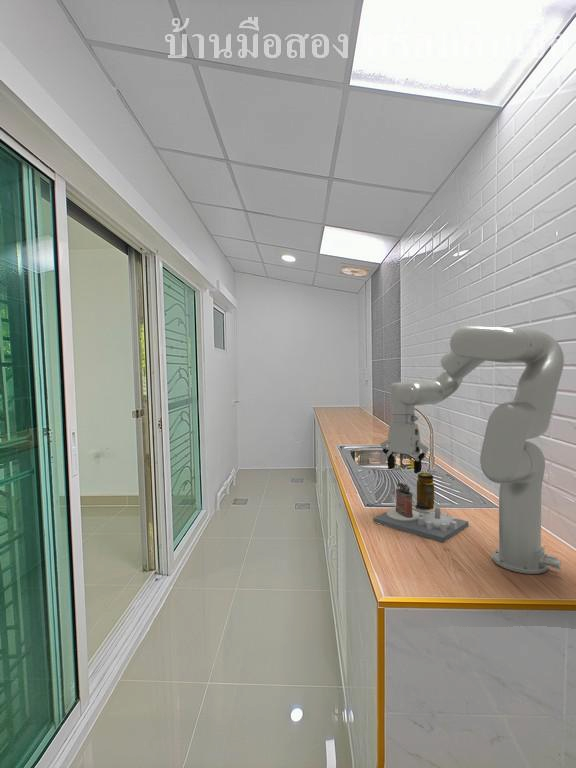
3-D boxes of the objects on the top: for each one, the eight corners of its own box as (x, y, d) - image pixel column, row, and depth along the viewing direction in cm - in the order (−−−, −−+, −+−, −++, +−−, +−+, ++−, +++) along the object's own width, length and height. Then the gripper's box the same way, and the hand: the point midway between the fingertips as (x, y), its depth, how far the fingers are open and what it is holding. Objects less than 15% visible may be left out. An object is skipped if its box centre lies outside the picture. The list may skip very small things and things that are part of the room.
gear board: (468, 526, 135) (468, 506, 134) (443, 542, 122) (442, 520, 122) (401, 509, 152) (401, 491, 152) (373, 522, 139) (372, 502, 139)
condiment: (433, 504, 157) (433, 472, 157) (437, 511, 149) (437, 478, 149) (413, 503, 159) (413, 471, 158) (416, 510, 150) (416, 477, 150)
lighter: (415, 517, 137) (415, 486, 137) (406, 518, 137) (405, 487, 136) (402, 509, 145) (402, 480, 145) (393, 510, 144) (393, 481, 144)
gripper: (432, 419, 137) (433, 472, 137) (386, 417, 149) (387, 465, 149) (421, 421, 131) (422, 476, 132) (374, 418, 144) (375, 468, 144)
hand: (404, 470), depth 140 cm, fingers open, 9 cm apart
